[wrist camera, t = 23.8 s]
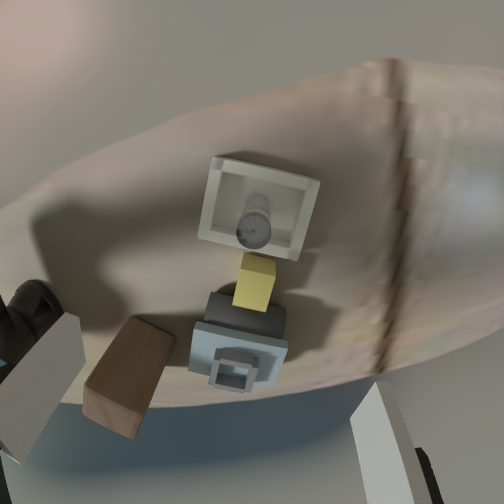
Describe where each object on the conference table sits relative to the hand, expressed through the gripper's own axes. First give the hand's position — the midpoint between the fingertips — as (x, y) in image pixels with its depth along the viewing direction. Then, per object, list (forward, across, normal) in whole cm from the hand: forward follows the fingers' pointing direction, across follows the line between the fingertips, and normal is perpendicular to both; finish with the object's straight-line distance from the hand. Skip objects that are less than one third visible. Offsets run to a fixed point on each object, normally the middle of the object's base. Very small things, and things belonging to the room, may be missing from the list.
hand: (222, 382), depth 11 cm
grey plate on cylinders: (+34, +2, -22) cm, 41 cm away
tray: (+34, 0, 0) cm, 34 cm away
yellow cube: (+34, +3, -11) cm, 36 cm away
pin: (+33, 0, 0) cm, 33 cm away
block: (+35, -14, -31) cm, 49 cm away
